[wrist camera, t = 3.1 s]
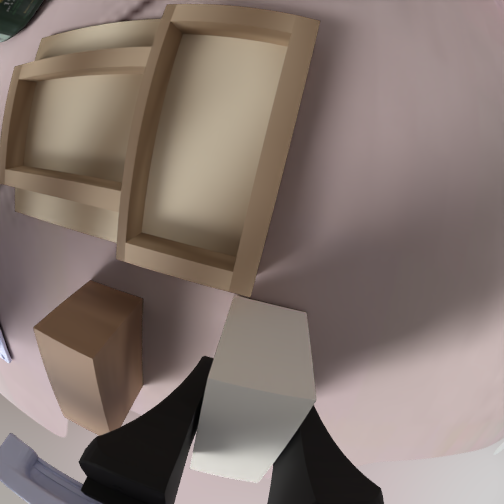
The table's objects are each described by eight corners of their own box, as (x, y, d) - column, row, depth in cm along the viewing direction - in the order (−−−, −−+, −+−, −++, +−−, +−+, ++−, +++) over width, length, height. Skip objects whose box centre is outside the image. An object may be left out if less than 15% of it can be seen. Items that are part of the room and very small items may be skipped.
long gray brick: (210, 396, 14) (189, 468, 10) (234, 295, 12) (207, 377, 7) (265, 409, 14) (257, 482, 10) (306, 312, 12) (316, 400, 7)
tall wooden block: (91, 279, 13) (33, 327, 8) (143, 297, 13) (92, 359, 8) (100, 366, 15) (64, 416, 11) (143, 384, 15) (113, 442, 11)
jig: (19, 209, 12) (-2, 217, 10) (46, 39, 8) (25, 33, 7) (254, 276, 12) (250, 297, 10) (314, 39, 8) (320, 21, 7)
